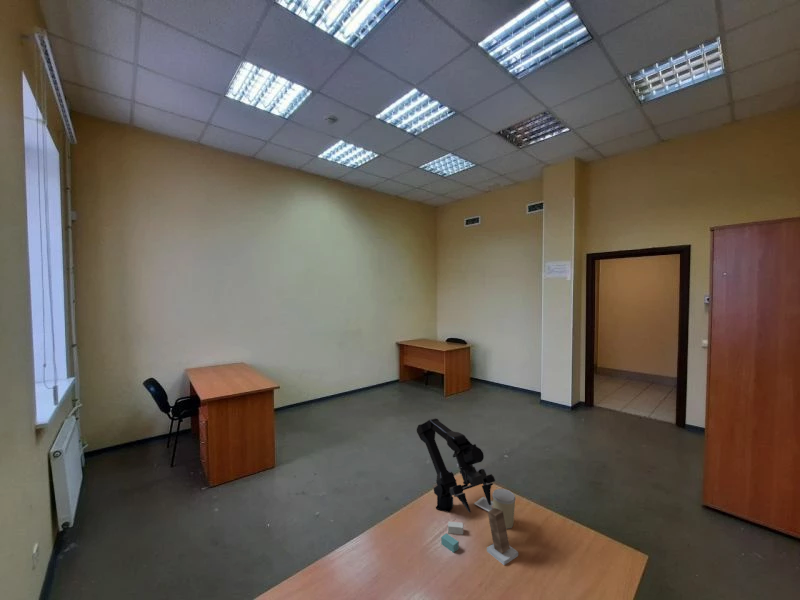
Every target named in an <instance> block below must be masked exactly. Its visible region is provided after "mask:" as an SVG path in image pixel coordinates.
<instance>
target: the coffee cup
mask: <svg viewBox="0 0 800 600" xmlns="http://www.w3.org/2000/svg"><path fill="white" fill-rule="evenodd" d="M492 501H493V508H496V509H499V510H501V511H503V515H504V520H505V525H506V530H507V529H512V528H513V527H514V521H515V520H514V519H515V507H516V505H515V504H516V496H515V494H514V493H513V492H512V491H511V490H508V489H506V488H497V489H494V490H493V492H492Z"/></svg>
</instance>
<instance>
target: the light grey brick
mask: <svg viewBox="0 0 800 600" xmlns="http://www.w3.org/2000/svg"><path fill="white" fill-rule="evenodd" d="M463 523H464V522H458V521H447V534H453V535H462V536H463V535H464V524H463Z"/></svg>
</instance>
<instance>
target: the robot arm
mask: <svg viewBox="0 0 800 600" xmlns="http://www.w3.org/2000/svg"><path fill="white" fill-rule="evenodd" d="M416 434H417V435H418V437H419V439H420V440H421V441H422V442H423V443H424V444H425V446H426V449H427V451H428V453H429V456H430V458H431V461H432V465H433V467H434V470H435V472H436V481H435V482H436V486H435V487H433V492H434V493H433V494H434V495H435V496H436V507H435V509H436V510H439V511H442V512H446V513H451V511H452V509H453V507H454V498H457V499H458V500H459V501H460V502H461V503H462V504H463V506H464V508H465V509H466V510H467V512H468V513H472V512H471V508H470V505H469V503H468V500H467V496H466V492H464V491H465V490H468V489H472V488H474V487H478V486H479V485H481V488H482V490H483V493H484V497H485V498H486V499H487V502H488V504H489V505H491V501H492V499H491V490H492V486H493V485H494V482H496V478H495V476H494V475H493V474H487V472H486V470H485V468H480V469H479V470H477V469H476V467H475V466H474V465H475V464H478V463H482V462H483V460H484V457H485V456H484V452H483V450H482V449H481V448H480V447H478V445H477V444H476V443H474V444H473V443H472V442H471V441H470V440H469V439H468V438H467V437H466V435H465V434H463V433H461V432H458V431H453V430H452V429H451V428H449V427H448V426H446V425H445V424H443V423H442V422H441V421H440V420H439V419H438V418H431V419H428V420H427V421H425V422H423V423H421V424H418V425H417V427H416ZM436 434H437V435H439V436H440V437H441V438H443V439H444V440H445V441H446V445H447V446H448V448H450V449H451V450H452V451H453V452H454V453H453V454H452V458H455V460H456V463H457V464H458V468H459V474H461V477H462V483H463V484H458V483H457V479H456V478H455V475H454V473H453V472H452V471H451V472H450V471H449V470H448V469H447V467H446V465H445V462H444V459H443V456H442V454H441V452H440V450H439V449H440V448H439V446H438V444H437V442H436Z"/></svg>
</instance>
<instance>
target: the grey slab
mask: <svg viewBox="0 0 800 600" xmlns="http://www.w3.org/2000/svg"><path fill="white" fill-rule="evenodd" d="M509 546H510V549H509V550H507V551H506V552H504V553H503V554H502V553H501V552H499V551H497V550H496V549H494V544H493V543H492V544H490V545H489V546H487V547H486V553H488V554H489V555H491V556H492V557H493V558H494V559H495V560H497V561H498V562H499V563H501V564H502V565H503V566H505V565H507V564H508V563H510V562H511V561H513V560H514V559H516V558H517V557H519V552H518V550H516V549H515V548H514V547H512V546H511V545H509Z"/></svg>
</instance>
